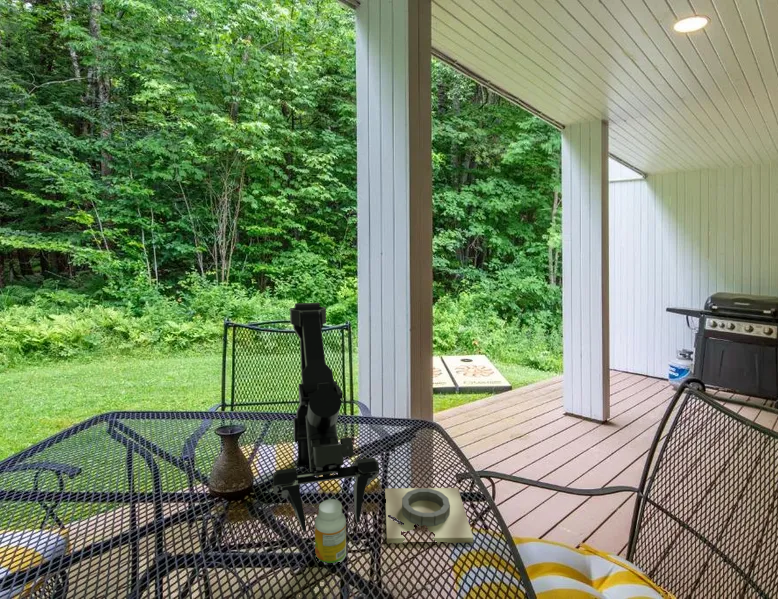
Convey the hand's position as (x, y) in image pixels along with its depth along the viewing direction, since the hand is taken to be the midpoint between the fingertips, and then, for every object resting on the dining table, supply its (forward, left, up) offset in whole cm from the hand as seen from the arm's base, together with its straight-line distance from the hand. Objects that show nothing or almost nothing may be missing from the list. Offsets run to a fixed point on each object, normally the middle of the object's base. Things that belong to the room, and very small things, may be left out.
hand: (331, 527), depth 77 cm
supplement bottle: (0, +1, -7) cm, 7 cm away
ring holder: (+18, +12, -7) cm, 23 cm away
